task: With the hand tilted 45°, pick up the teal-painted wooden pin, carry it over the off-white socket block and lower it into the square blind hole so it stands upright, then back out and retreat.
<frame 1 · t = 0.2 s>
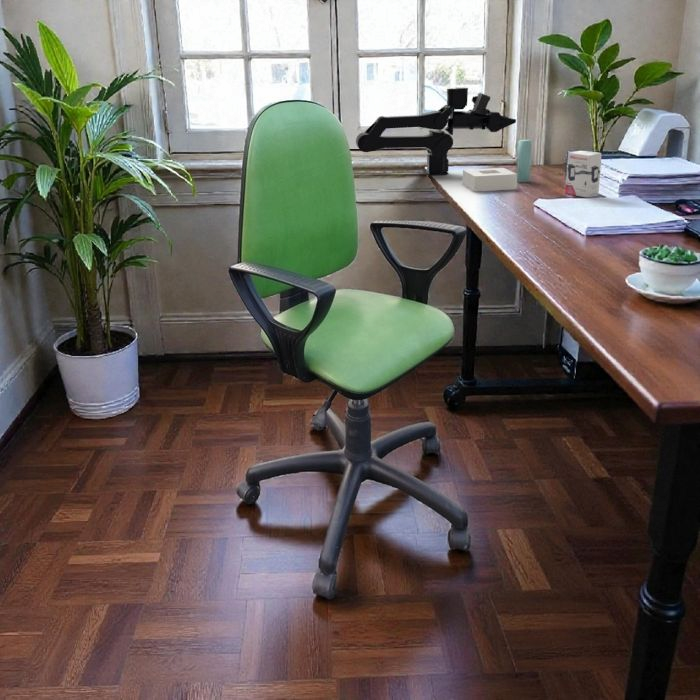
hand: (511, 119, 255), 17 cm above the table, tool horizontal, fingers open, 9 cm apart
socket block: (488, 186, 232), on the table
ink box: (581, 195, 216), on the table
pin: (523, 181, 239), on the table
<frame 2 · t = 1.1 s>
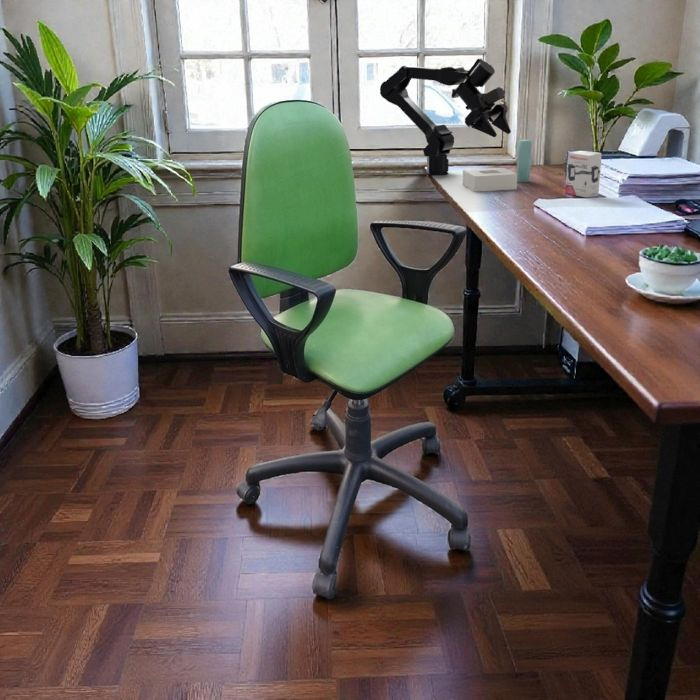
hand: (502, 134, 239), 14 cm above the table, tool tilted 45°, fingers open, 9 cm apart
nothing on the table moved.
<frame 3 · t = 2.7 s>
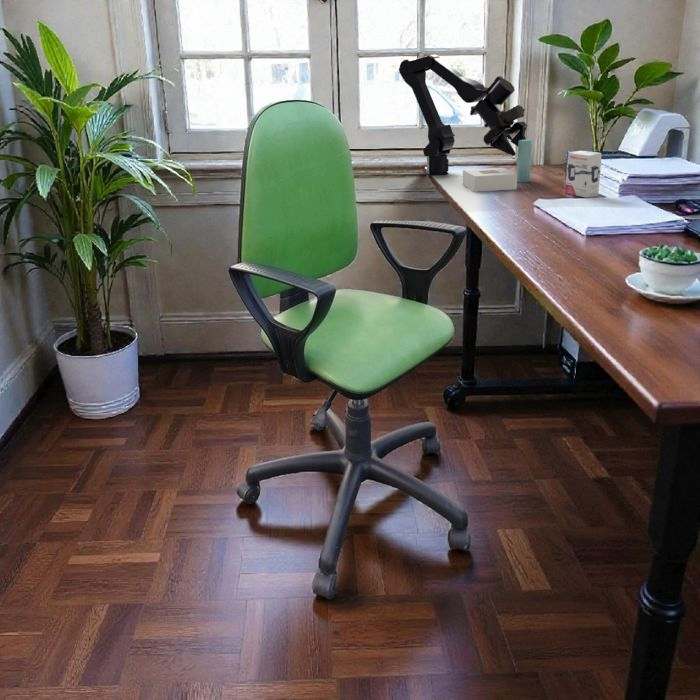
hand: (521, 153, 237), 9 cm above the table, tool tilted 45°, fingers open, 9 cm apart
nothing on the table moved.
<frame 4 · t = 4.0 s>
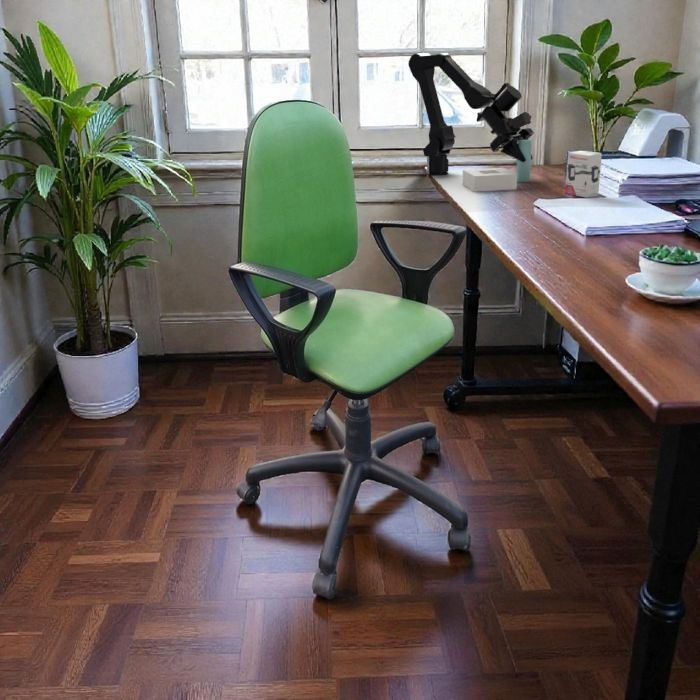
hand: (528, 160, 236), 7 cm above the table, tool tilted 45°, fingers closed on pin, 4 cm apart
pin: (523, 181, 239), on the table, touching gripper
everything else where it was.
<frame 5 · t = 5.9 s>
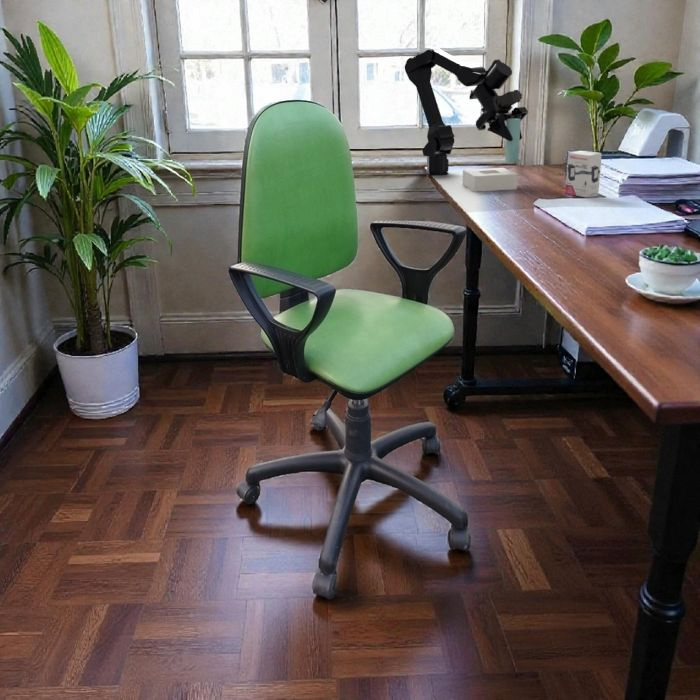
hand: (516, 139, 230), 13 cm above the table, tool tilted 45°, fingers closed on pin, 4 cm apart
pin: (511, 161, 233), point 7 cm above the table, touching gripper
everything else where it was.
when the fingers open (8 cm above the table, at t = 8.0 s): pin stays where it is, resting on socket block.
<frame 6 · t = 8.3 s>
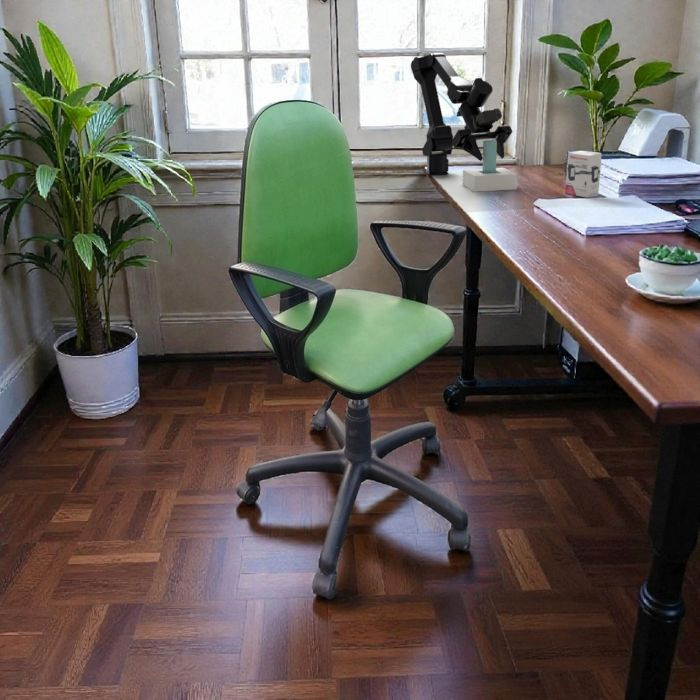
hand: (492, 158, 228), 9 cm above the table, tool tilted 45°, fingers open, 7 cm apart
pin: (489, 183, 232), point 1 cm above the table, touching socket block
everything else where it was.
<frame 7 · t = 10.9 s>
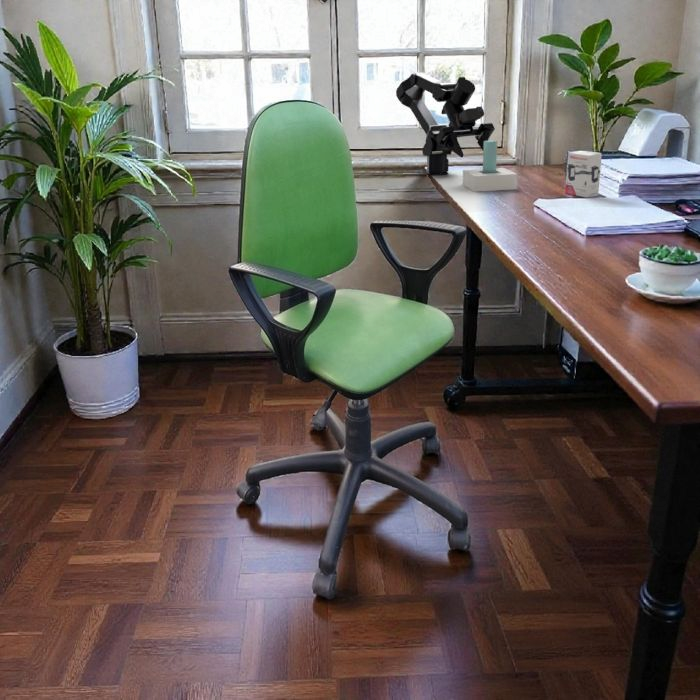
hand: (475, 155, 236), 9 cm above the table, tool tilted 45°, fingers open, 9 cm apart
nothing on the table moved.
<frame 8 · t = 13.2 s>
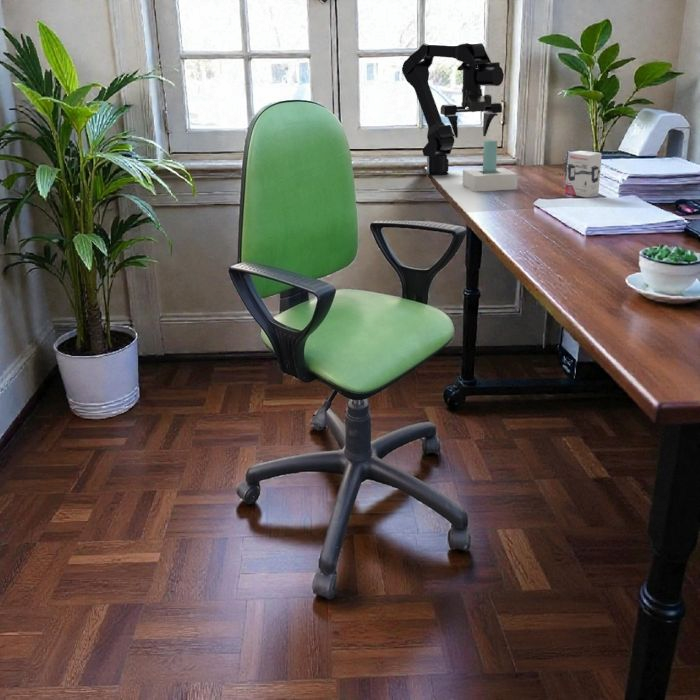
hand: (470, 136, 244), 13 cm above the table, tool pointing down, fingers open, 9 cm apart
nothing on the table moved.
at the end: pin 0.0 cm off-centre on the socket block, point 1.0 cm above the socket block's base; pin tilted 0°; the gripper is holding nothing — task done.
